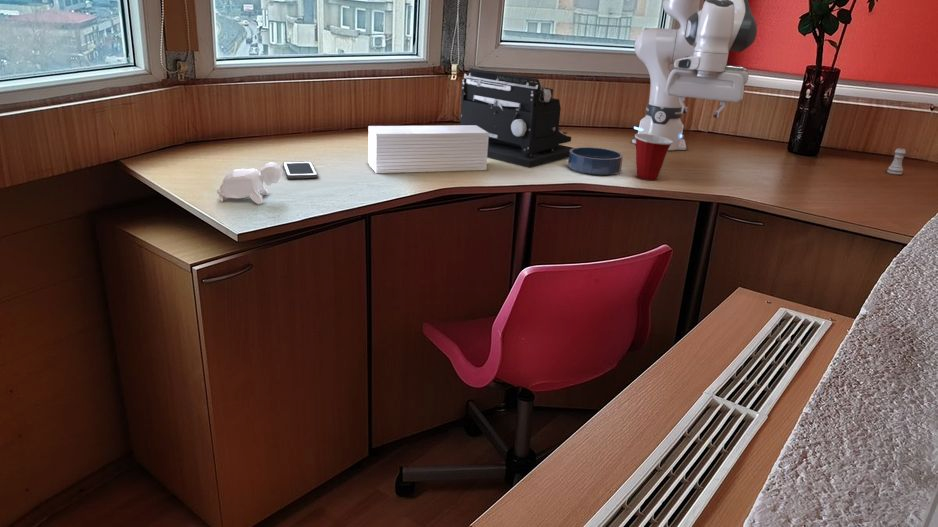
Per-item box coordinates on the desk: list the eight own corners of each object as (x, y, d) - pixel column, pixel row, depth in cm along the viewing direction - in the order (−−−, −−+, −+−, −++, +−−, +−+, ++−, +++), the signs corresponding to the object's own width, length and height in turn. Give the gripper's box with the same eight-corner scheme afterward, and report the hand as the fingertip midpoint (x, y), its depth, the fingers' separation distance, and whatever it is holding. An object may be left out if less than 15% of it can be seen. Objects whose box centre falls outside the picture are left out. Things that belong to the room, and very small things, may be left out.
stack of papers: (474, 161, 214) (476, 125, 210) (486, 170, 205) (488, 132, 201) (368, 163, 204) (368, 126, 200) (375, 173, 195) (376, 133, 191)
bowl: (576, 160, 223) (578, 144, 221) (625, 168, 217) (628, 152, 215) (560, 170, 209) (562, 154, 207) (613, 179, 204) (615, 162, 202)
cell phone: (311, 164, 199) (311, 161, 199) (318, 178, 186) (317, 174, 186) (282, 165, 197) (282, 161, 196) (287, 179, 184) (287, 175, 183)
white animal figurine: (226, 216, 164) (287, 194, 163) (209, 182, 160) (272, 160, 160) (234, 205, 171) (292, 184, 171) (218, 172, 168) (278, 151, 168)
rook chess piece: (900, 172, 233) (907, 148, 230) (903, 176, 229) (910, 151, 226) (885, 171, 234) (891, 146, 231) (887, 174, 230) (894, 149, 227)
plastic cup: (667, 184, 201) (674, 142, 197) (628, 180, 203) (634, 138, 199) (665, 175, 211) (672, 135, 207) (628, 171, 213) (634, 131, 209)
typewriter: (578, 155, 230) (587, 75, 221) (529, 167, 210) (537, 80, 201) (502, 138, 248) (508, 63, 239) (450, 148, 229) (454, 67, 219)
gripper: (751, 66, 190) (740, 118, 195) (673, 59, 197) (665, 109, 202) (749, 68, 184) (738, 122, 189) (668, 60, 192) (660, 112, 197)
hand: (700, 115), depth 196 cm, fingers open, 7 cm apart
